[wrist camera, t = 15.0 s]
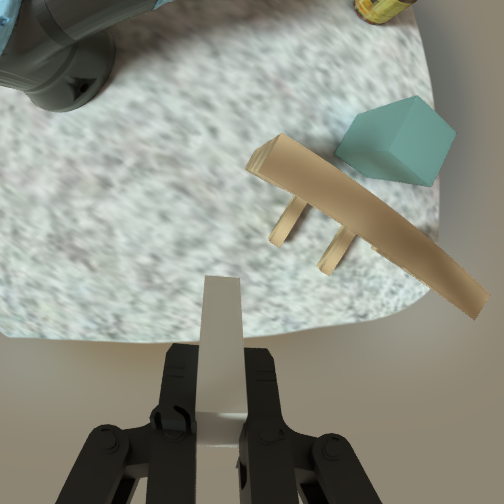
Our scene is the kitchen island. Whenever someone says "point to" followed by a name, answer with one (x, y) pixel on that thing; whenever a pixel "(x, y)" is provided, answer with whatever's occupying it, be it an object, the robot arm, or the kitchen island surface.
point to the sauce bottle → (380, 9)
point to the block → (398, 142)
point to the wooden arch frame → (359, 221)
